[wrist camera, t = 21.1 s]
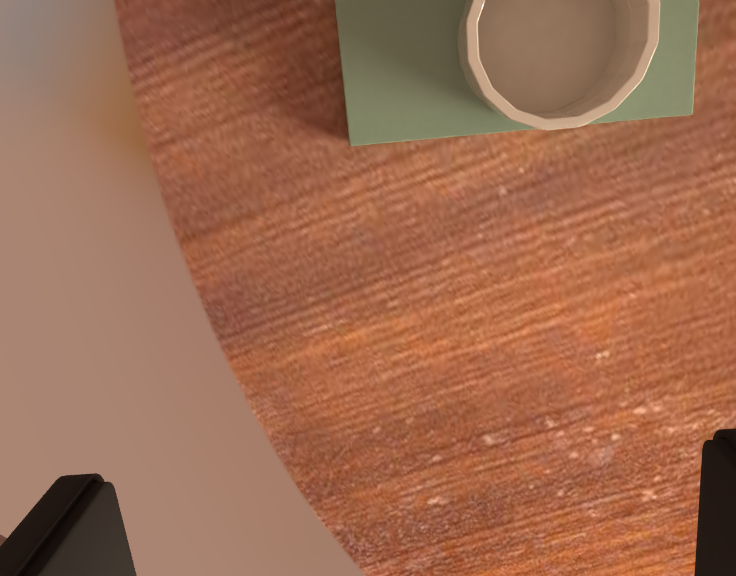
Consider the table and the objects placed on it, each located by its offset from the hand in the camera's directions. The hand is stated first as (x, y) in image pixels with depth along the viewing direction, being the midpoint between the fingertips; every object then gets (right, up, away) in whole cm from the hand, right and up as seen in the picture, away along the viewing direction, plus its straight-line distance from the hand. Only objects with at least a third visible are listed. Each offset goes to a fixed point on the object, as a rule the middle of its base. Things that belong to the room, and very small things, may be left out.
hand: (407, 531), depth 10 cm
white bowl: (+7, +15, +19) cm, 25 cm away
